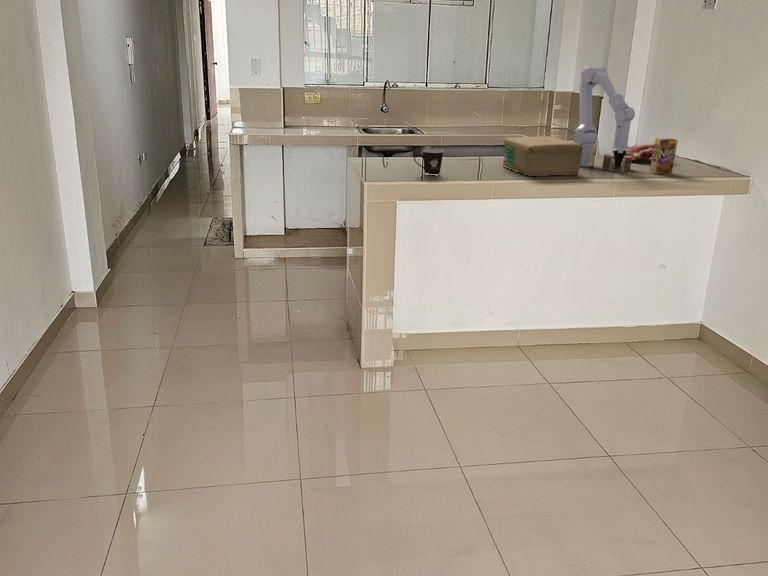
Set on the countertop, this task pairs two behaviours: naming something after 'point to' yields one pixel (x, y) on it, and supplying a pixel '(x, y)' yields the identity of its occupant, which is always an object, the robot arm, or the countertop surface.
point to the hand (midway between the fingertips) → (617, 167)
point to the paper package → (542, 156)
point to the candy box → (663, 156)
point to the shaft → (616, 167)
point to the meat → (640, 151)
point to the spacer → (616, 170)
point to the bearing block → (608, 157)
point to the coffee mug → (431, 161)
